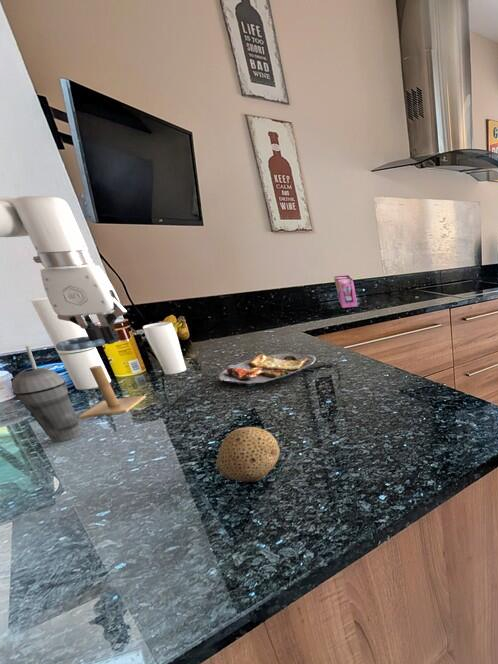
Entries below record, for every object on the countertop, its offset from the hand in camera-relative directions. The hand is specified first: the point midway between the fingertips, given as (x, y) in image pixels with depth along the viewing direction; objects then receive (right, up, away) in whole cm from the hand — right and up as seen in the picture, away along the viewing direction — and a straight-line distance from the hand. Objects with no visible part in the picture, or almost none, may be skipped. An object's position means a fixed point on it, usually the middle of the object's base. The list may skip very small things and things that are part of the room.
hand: (106, 342), depth 91 cm
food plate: (+22, -6, +26) cm, 35 cm away
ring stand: (-3, -16, +5) cm, 17 cm away
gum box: (+5, +34, +121) cm, 126 cm away
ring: (-4, 0, -1) cm, 4 cm away
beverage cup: (-2, -21, -6) cm, 22 cm away
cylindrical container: (-24, -10, +20) cm, 33 cm away
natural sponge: (+50, -27, -23) cm, 61 cm away
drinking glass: (-8, -6, +28) cm, 30 cm away
